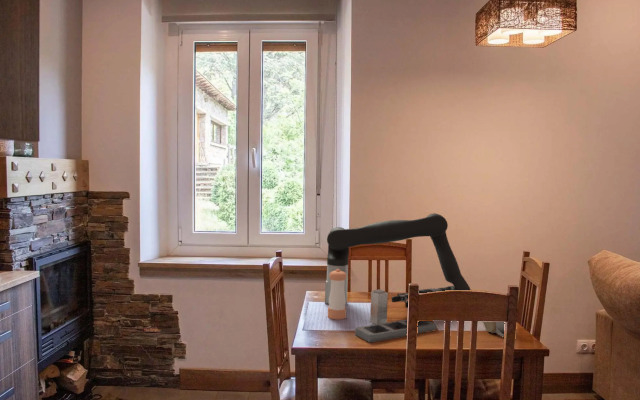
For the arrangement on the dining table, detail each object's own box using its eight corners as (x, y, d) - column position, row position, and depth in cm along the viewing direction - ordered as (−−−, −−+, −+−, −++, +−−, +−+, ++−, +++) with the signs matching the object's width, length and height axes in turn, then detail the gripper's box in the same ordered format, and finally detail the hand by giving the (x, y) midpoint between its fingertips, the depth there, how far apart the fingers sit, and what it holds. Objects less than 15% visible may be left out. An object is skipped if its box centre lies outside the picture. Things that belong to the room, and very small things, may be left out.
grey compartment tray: (369, 342, 162) (370, 335, 162) (355, 334, 170) (355, 327, 170) (436, 330, 177) (436, 323, 177) (420, 323, 185) (420, 317, 185)
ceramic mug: (481, 330, 179) (482, 309, 179) (499, 328, 182) (500, 308, 181) (500, 340, 169) (501, 318, 168) (519, 338, 172) (520, 317, 171)
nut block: (377, 325, 181) (378, 292, 181) (370, 322, 185) (371, 289, 185) (386, 323, 184) (387, 291, 183) (379, 320, 187) (380, 288, 187)
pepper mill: (324, 317, 189) (325, 269, 188) (332, 313, 196) (333, 266, 195) (341, 320, 186) (342, 271, 185) (348, 315, 192) (350, 268, 191)
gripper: (418, 285, 203) (388, 288, 195) (442, 292, 190) (411, 297, 182) (418, 302, 203) (387, 306, 195) (441, 311, 191) (410, 316, 183)
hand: (398, 302), depth 189 cm, fingers open, 8 cm apart
